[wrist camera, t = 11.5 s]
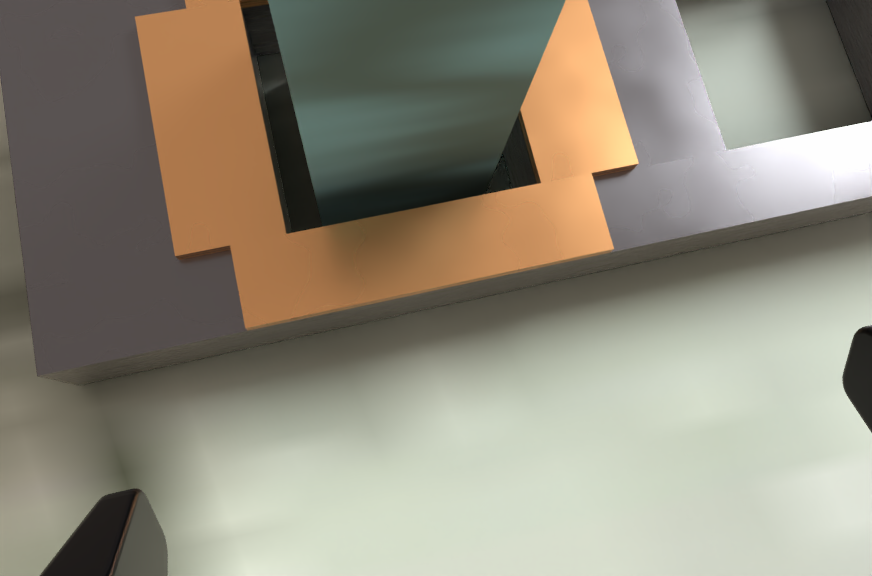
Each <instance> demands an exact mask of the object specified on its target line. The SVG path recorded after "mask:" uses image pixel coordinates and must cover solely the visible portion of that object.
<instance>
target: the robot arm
mask: <svg viewBox="0 0 872 576" xmlns="http://www.w3.org/2000/svg"><path fill="white" fill-rule="evenodd" d="M842 378H843V386H844V390H845V392H846V394H847V396H848V398H849V399H850V401H851V402H852V404H853V405H854V407H855V408H856V410H857V411H858V413H859V414H860V416H861V417H862V419H863V420H864V422H865V423H866V425H867V426H868V428H869V429H870V431H871V432H872V325H870V326H866V327H862V328H860V329H859V330H858V331H857V332H856V333H855V334H854V337H853V340H852V343H851V347H850V350H849V354H848V358H847V361H846V365H845V368H844V372H843V377H842ZM40 576H168V554H167V544H166V539H165V535H164V533H163V530H162V528H161V526H160V524H159V522H158V520H157V518H156V515H155V513H154V511H153V509H152V507H151V505H150V503H149V500H148V498H147V496H146V495H145V493H144V492H143V491H142V490H140V489H130V490H125V491H121V492H116V493H112V494H108V495H105V496H103V497H102V498H101V499H100V500H99V501H98V502H97V503H96V504H95V506H94V507H93V508H92V509H91V511H90V512H89V513H88V515H87V516H86V517H85V518H84V520H83V521H82V522H81V524H80V525H79V526H78V527H77V529H76V530H75V531H74V532H73V534H72V535H71V536H70V538H69V539H68V540H67V541H66V543H65V544H64V545H63V546H62V548H61V549H60V550H59V552H58V553H57V554H56V555H55V557H54V558H53V559H52V560H51V562H50V563H49V564H48V566H47V567H46V568H45V569H44V571H43V572H42V573H41V575H40Z"/></svg>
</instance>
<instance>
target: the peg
mask: <svg viewBox="0 0 872 576" xmlns="http://www.w3.org/2000/svg"><path fill="white" fill-rule="evenodd" d="M565 1H566V0H268V3H269V7H270V11H271V15H272V19H273V23H274V28H275V32H276V36H277V40H278V44H279V48H280V52H281V56H282V61H283V65H284V69H285V73H286V77H287V81H288V85H289V90H290V94H291V98H292V102H293V106H294V110H295V114H296V118H297V123H298V127H299V131H300V135H301V139H302V143H303V147H304V152H305V156H306V160H307V164H308V168H309V172H310V176H311V180H312V185H313V189H314V193H315V197H316V201H317V205H318V209H319V214H320V218H321V222H322V226H327V225H333V224H338V223H344V222H349V221H354V220H359V219H364V218H369V217H374V216H379V215H384V214H389V213H394V212H399V211H404V210H409V209H414V208H419V207H424V206H429V205H434V204H439V203H444V202H449V201H454V200H459V199H464V198H469V197H474V196H479V195H484V194H485V193H486V190H487V188H488V186H489V183H490V181H491V178H492V176H493V174H494V171H495V169H496V166H497V164H498V162H499V159H500V157H501V154H502V152H503V150H504V147H505V145H506V142H507V140H508V138H509V135H510V133H511V130H512V128H513V126H514V123H515V121H516V118H517V116H518V114H519V111H520V109H521V106H522V104H523V102H524V99H525V97H526V94H527V92H528V90H529V87H530V85H531V82H532V80H533V78H534V75H535V73H536V70H537V68H538V66H539V63H540V61H541V58H542V56H543V54H544V51H545V49H546V46H547V44H548V42H549V39H550V37H551V34H552V32H553V30H554V27H555V25H556V22H557V20H558V18H559V15H560V13H561V10H562V8H563V6H564V3H565Z"/></svg>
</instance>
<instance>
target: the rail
mask: <svg viewBox="0 0 872 576" xmlns="http://www.w3.org/2000/svg"><path fill="white" fill-rule="evenodd" d="M827 3H828V5H829V8H830V10H831V13H832V16H833V18H834V21H835V23H836V26H837V28H838V31H839V34H840V36H841V39H842V41H843V44H844V46H845V49H846V52H847V54H848V57H849V59H850V62H851V64H852V67H853V70H854V72H855V75H856V77H857V80H858V82H859V85H860V87H861V90H862V93H863V95H864V98H865V100H866V103H867V105H868V108H869V111H870V113H871V116H872V0H827ZM279 52H280V48H279V44H278V40H277V36H276V32H275V28H274V23H273V19H272V15H271V11H270V7H269V3H268V0H0V76H1V84H2V92H3V101H4V109H5V117H6V125H7V133H8V141H9V149H10V158H11V166H12V174H13V182H14V190H15V198H16V206H17V215H18V223H19V231H20V239H21V247H22V255H23V263H24V272H25V280H26V288H27V296H28V304H29V312H30V321H31V329H32V337H33V345H34V353H35V361H36V369H37V376H39V377H44V378H48V379H53V380H57V381H62V382H66V383H71V384H75V385H83V384H87V383H92V382H96V381H101V380H106V379H110V378H115V377H119V376H124V375H128V374H133V373H138V372H142V371H147V370H151V369H156V368H160V367H165V366H170V365H174V364H179V363H183V362H188V361H193V360H197V359H202V358H206V357H211V356H215V355H220V354H225V353H229V352H234V351H238V350H243V349H247V348H252V347H257V346H261V345H266V344H270V343H275V342H279V341H284V340H289V339H293V338H298V337H302V336H307V335H311V334H316V333H321V332H325V331H330V330H334V329H339V328H343V327H348V326H353V325H357V324H362V323H366V322H371V321H375V320H380V319H385V318H389V317H394V316H398V315H403V314H407V313H412V312H417V311H421V310H426V309H430V308H435V307H439V306H444V305H449V304H453V303H458V302H462V301H467V300H471V299H476V298H481V297H485V296H490V295H494V294H499V293H503V292H508V291H513V290H517V289H522V288H526V287H531V286H535V285H540V284H545V283H549V282H554V281H558V280H563V279H567V278H572V277H577V276H581V275H586V274H590V273H595V272H599V271H604V270H609V269H613V268H618V267H622V266H627V265H631V264H636V263H641V262H645V261H650V260H654V259H659V258H663V257H668V256H673V255H677V254H682V253H686V252H691V251H695V250H700V249H705V248H709V247H714V246H718V245H723V244H727V243H732V242H737V241H741V240H746V239H750V238H755V237H759V236H764V235H769V234H773V233H778V232H782V231H787V230H791V229H796V228H801V227H805V226H810V225H814V224H819V223H823V222H828V221H833V220H837V219H842V218H846V217H851V216H855V215H860V214H865V213H869V212H872V121H870V122H865V123H860V124H855V125H850V126H845V127H840V128H835V129H830V130H825V131H820V132H815V133H810V134H805V135H800V136H795V137H790V138H785V139H780V140H775V141H770V142H765V143H760V144H755V145H750V146H745V147H740V148H735V149H730V150H726V147H725V144H724V141H723V138H722V135H721V132H720V129H719V126H718V123H717V120H716V117H715V114H714V112H713V109H712V106H711V103H710V100H709V97H708V94H707V91H706V88H705V85H704V82H703V79H702V76H701V73H700V71H699V68H698V65H697V62H696V59H695V56H694V53H693V50H692V47H691V44H690V41H689V38H688V35H687V32H686V30H685V27H684V24H683V21H682V18H681V15H680V12H679V9H678V6H677V3H676V0H566V1H565V3H564V6H563V8H562V10H561V13H560V15H559V18H558V20H557V22H556V25H555V27H554V30H553V32H552V34H551V37H550V39H549V42H548V44H547V46H546V49H545V51H544V54H543V56H542V58H541V61H540V63H539V66H538V68H537V70H536V73H535V75H534V78H533V80H532V82H531V85H530V87H529V90H528V92H527V94H526V97H525V99H524V102H523V104H522V106H521V109H520V111H519V114H518V116H517V118H516V121H515V123H514V126H513V128H512V130H511V133H510V135H509V138H508V140H507V142H506V145H505V147H504V150H503V155H504V159H505V162H506V166H507V170H508V173H509V177H510V181H511V184H512V188H513V189H509V190H504V191H499V192H494V193H489V194H484V195H479V196H474V197H469V198H464V199H459V200H454V201H449V202H444V203H439V204H434V205H429V206H424V207H419V208H414V209H409V210H404V211H399V212H394V213H389V214H384V215H379V216H374V217H369V218H364V219H359V220H354V221H349V222H344V223H339V224H334V225H329V226H324V227H319V228H314V229H309V230H304V231H299V232H294V233H292V229H291V224H290V219H289V214H288V209H287V204H286V199H285V194H284V189H283V184H282V180H281V175H280V170H279V165H278V160H277V155H276V150H275V145H274V140H273V135H272V130H271V126H270V121H269V116H268V111H267V106H266V101H265V96H264V91H263V86H262V81H261V77H260V72H259V67H258V62H257V57H256V56H261V55H267V54H273V53H279Z"/></svg>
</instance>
